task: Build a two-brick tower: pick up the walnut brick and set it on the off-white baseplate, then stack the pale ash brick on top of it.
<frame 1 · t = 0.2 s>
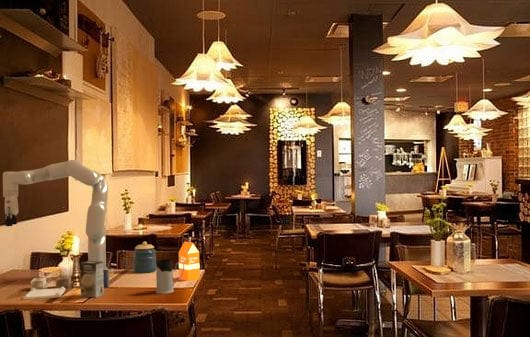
hand: (11, 225, 291), 31 cm above the table, tool pointing down, fingers open, 9 cm apart
baseplate: (45, 294, 258), on the table
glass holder: (170, 291, 260), on the table
orange juice: (189, 279, 288), on the table
canister: (145, 271, 314), on the table
flask: (101, 286, 274), on the table
ash brick: (38, 289, 271), on the table
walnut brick: (63, 287, 274), on the table
coffee box: (92, 296, 253), on the table
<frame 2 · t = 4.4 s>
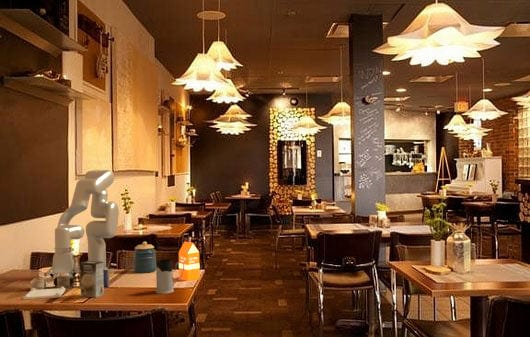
hand: (63, 285, 273), 1 cm above the table, tool pointing down, fingers closed on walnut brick, 6 cm apart
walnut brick: (63, 287, 274), on the table, touching gripper
everything else where it was.
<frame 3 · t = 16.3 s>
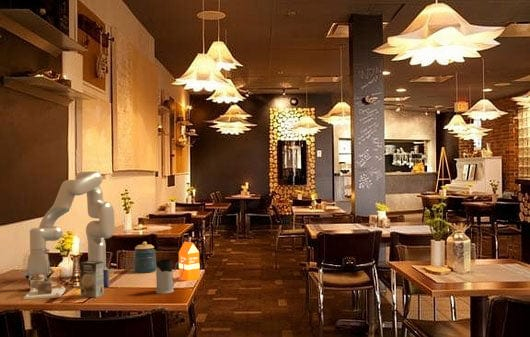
hand: (38, 287, 271), 1 cm above the table, tool pointing down, fingers closed on ash brick, 6 cm apart
ash brick: (38, 289, 270), on the table, touching gripper
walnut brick: (45, 292, 258), point 1 cm above the table, touching baseplate
everything else where it was.
when the fingers open (8 cm above the table, at t = 21.8 s): ash brick drops 1 cm, resting on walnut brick.
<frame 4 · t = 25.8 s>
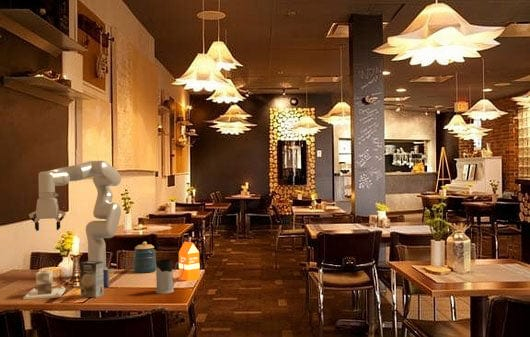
hand: (47, 230, 267), 30 cm above the table, tool pointing down, fingers open, 9 cm apart
ash brick: (44, 282, 257), point 6 cm above the table, touching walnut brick
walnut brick: (45, 292, 258), point 1 cm above the table, touching ash brick, baseplate
everything else where it was.
at the end: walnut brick 0.1 cm off-centre on the baseplate, point 1.0 cm above the baseplate's base; ash brick 0.6 cm off-centre on the baseplate, point 6.0 cm above the baseplate's base; ash brick tilted 0° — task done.
